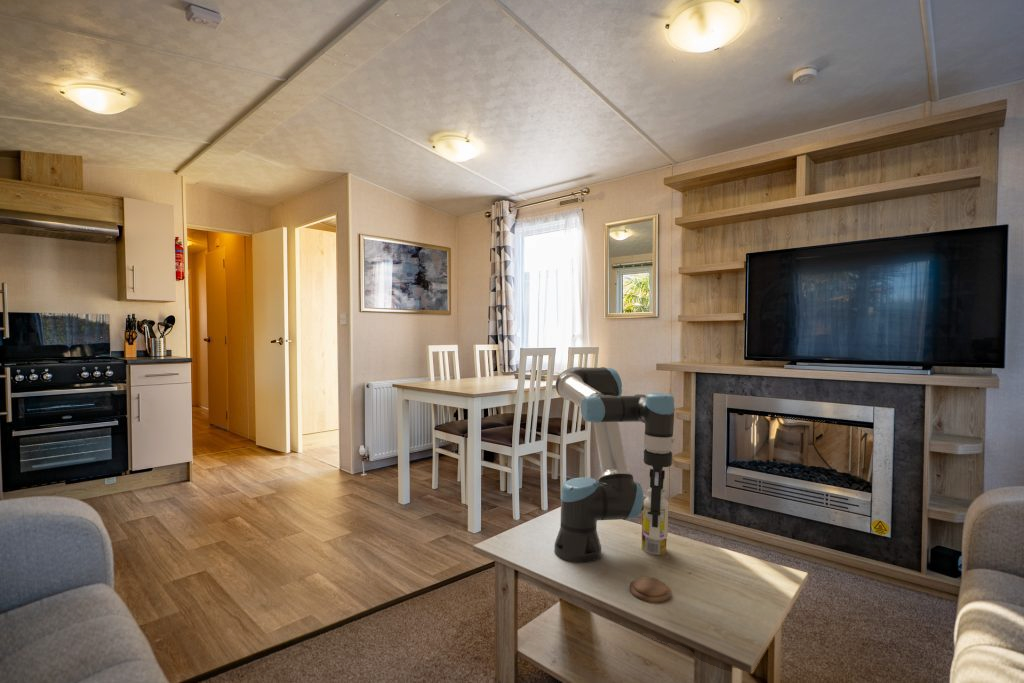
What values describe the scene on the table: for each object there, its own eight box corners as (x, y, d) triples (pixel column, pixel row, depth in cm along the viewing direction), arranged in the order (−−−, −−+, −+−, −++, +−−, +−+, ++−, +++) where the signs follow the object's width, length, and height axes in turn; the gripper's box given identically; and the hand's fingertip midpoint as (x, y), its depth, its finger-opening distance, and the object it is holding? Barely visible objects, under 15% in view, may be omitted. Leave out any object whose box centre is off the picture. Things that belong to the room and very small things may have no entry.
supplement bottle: (651, 529, 143) (653, 484, 143) (672, 537, 138) (674, 491, 138) (637, 534, 139) (639, 489, 138) (658, 543, 134) (660, 495, 133)
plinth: (627, 597, 135) (627, 590, 135) (631, 579, 145) (632, 572, 145) (670, 606, 131) (670, 598, 131) (671, 586, 142) (671, 579, 142)
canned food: (665, 546, 169) (666, 511, 169) (666, 556, 161) (667, 519, 161) (641, 543, 171) (642, 508, 170) (641, 553, 163) (642, 516, 163)
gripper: (672, 460, 127) (668, 549, 128) (672, 443, 146) (669, 521, 147) (641, 457, 129) (638, 544, 130) (646, 441, 148) (643, 517, 149)
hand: (654, 532), depth 138 cm, fingers closed on supplement bottle, 7 cm apart
